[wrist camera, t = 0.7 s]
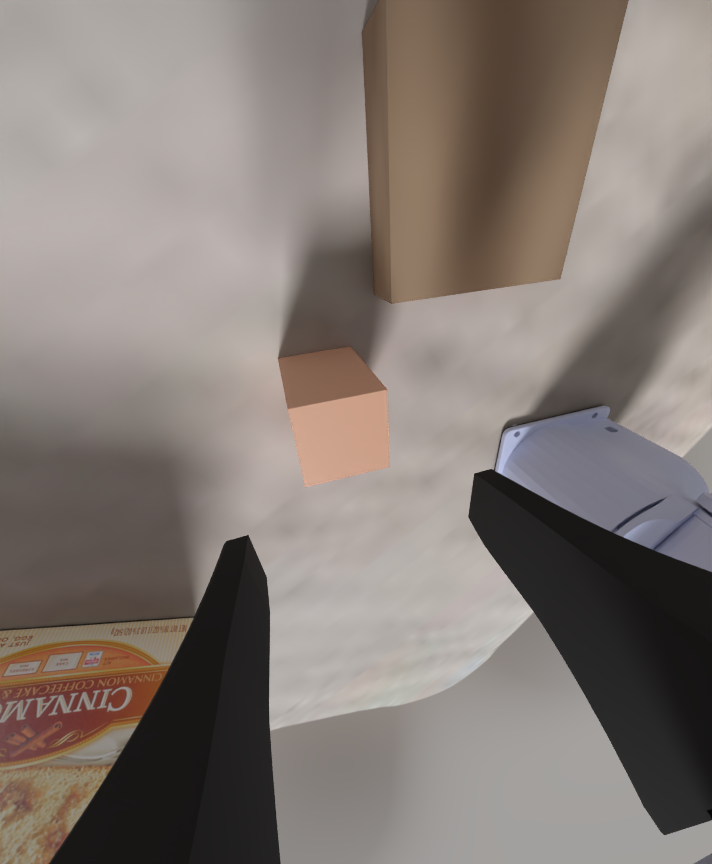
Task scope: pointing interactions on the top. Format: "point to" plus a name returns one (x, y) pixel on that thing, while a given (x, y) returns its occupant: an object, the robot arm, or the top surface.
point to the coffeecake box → (70, 721)
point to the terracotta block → (336, 414)
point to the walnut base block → (480, 137)
